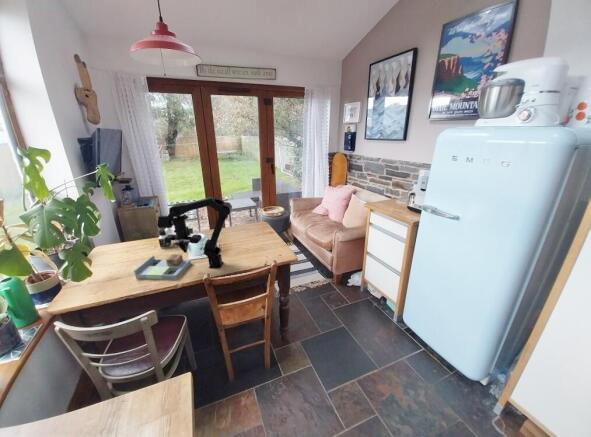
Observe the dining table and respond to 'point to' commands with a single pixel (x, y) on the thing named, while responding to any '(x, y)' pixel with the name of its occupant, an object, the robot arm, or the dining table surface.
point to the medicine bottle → (163, 234)
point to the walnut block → (174, 260)
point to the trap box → (160, 269)
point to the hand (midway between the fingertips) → (185, 252)
